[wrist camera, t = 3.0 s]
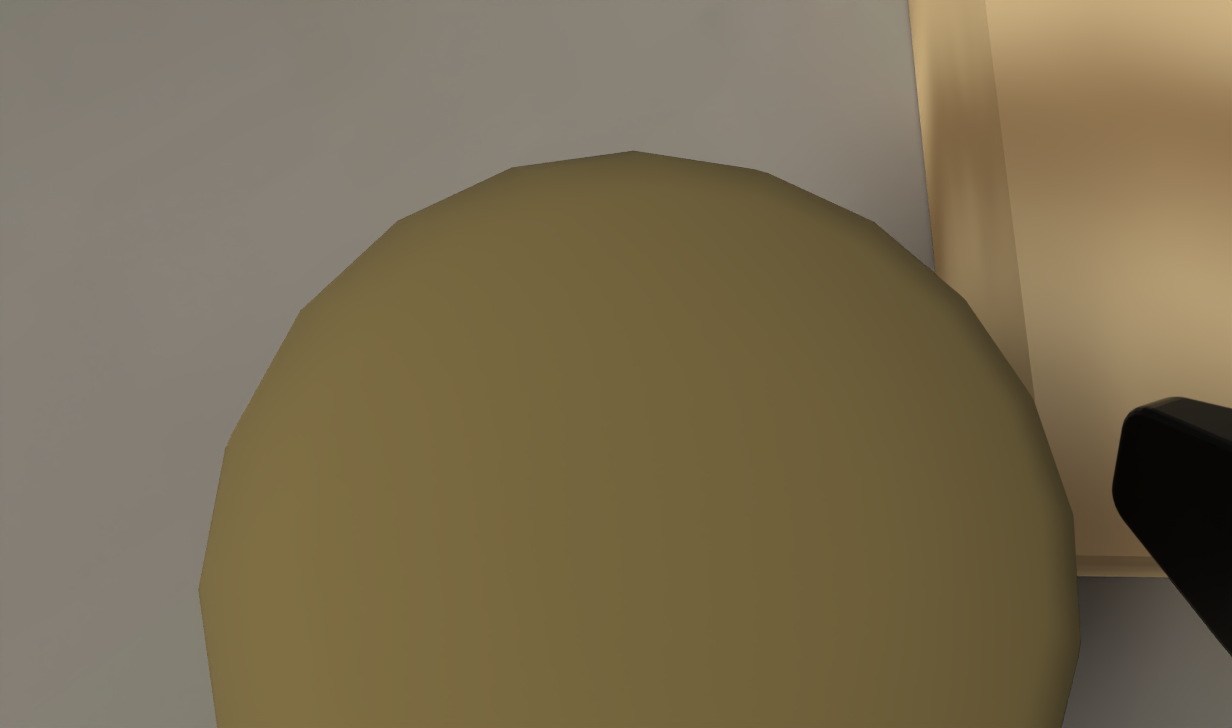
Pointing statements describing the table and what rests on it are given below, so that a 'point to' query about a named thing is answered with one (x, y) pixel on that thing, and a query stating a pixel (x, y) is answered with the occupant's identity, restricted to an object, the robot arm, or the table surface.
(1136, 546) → the oak board
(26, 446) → the table surface
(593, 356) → the cork
